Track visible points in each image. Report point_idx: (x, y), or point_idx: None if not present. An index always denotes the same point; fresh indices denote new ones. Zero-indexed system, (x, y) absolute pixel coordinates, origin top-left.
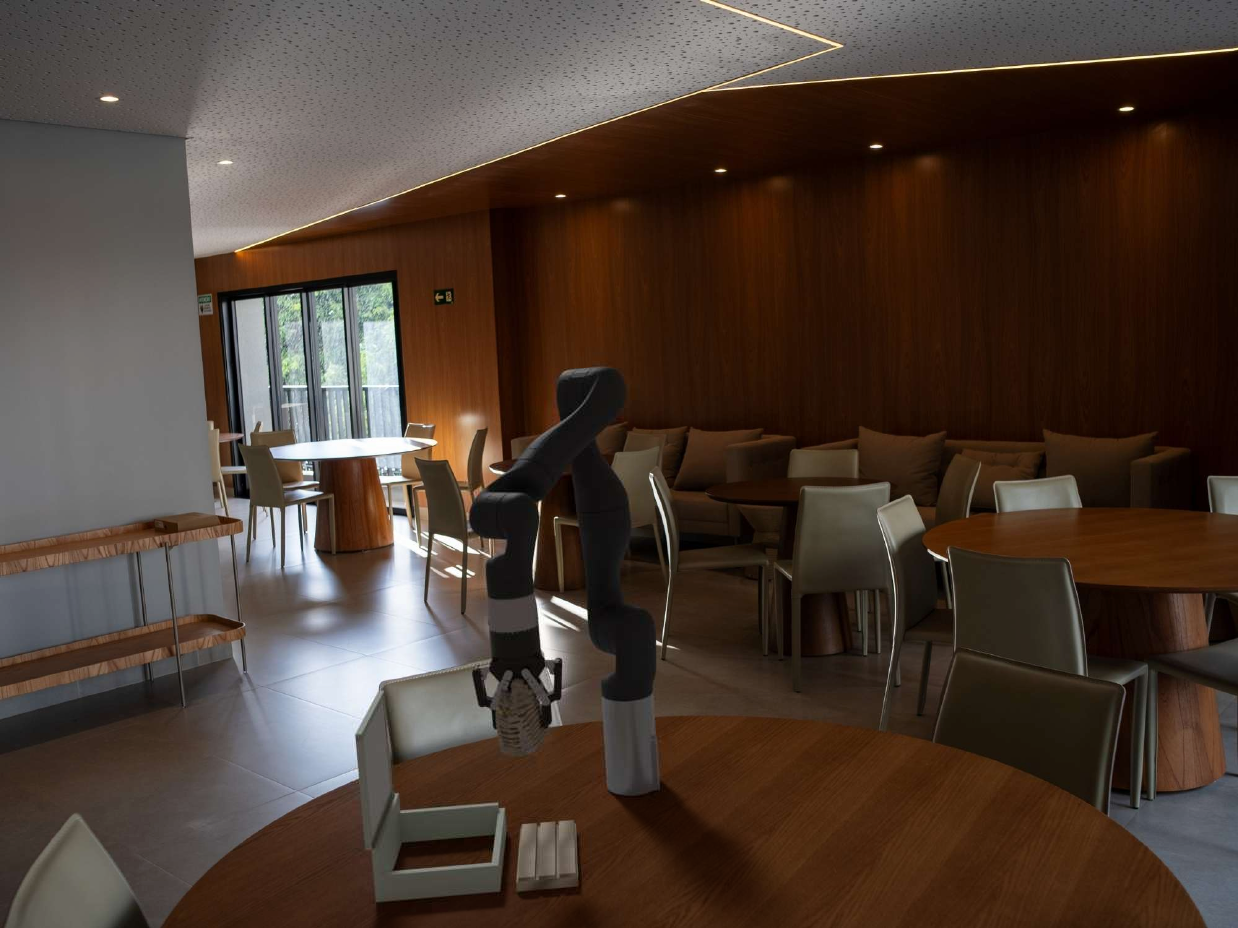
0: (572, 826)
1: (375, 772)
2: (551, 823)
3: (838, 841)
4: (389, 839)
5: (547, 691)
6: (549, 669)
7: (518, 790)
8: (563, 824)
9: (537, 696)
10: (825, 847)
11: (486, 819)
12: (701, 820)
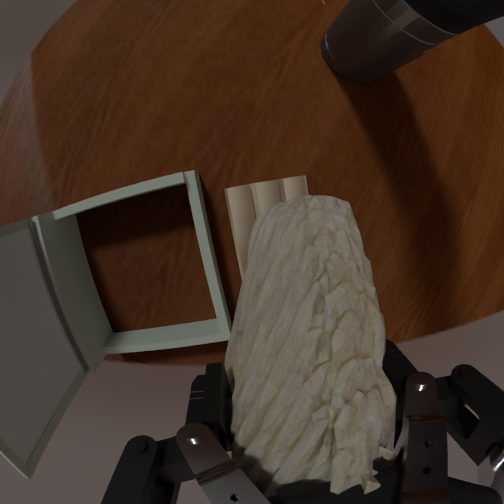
0: (305, 195)
1: (21, 355)
2: (272, 186)
3: (499, 217)
4: (76, 300)
5: (435, 399)
6: (484, 481)
7: (191, 53)
8: (291, 189)
9: (383, 337)
10: (493, 226)
11: (169, 186)
12: (432, 161)
